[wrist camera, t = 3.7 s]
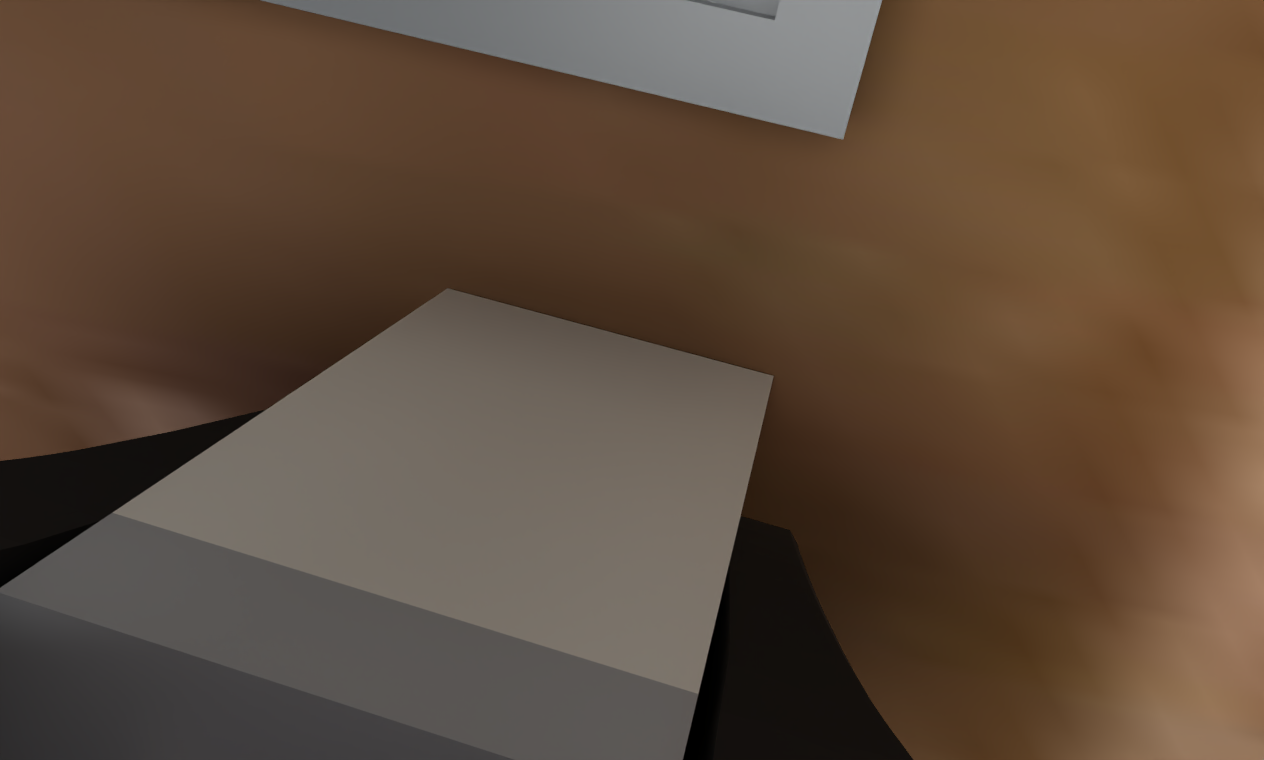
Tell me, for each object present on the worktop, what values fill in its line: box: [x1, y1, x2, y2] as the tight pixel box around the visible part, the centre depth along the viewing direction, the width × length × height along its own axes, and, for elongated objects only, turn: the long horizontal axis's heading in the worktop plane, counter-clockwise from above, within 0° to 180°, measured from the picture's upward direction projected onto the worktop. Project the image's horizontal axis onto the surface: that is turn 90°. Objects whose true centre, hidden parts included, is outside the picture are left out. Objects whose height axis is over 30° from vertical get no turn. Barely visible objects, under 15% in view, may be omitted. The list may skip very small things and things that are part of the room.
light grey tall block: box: [0, 288, 774, 760], centre depth 10 cm, size 4×4×7 cm
